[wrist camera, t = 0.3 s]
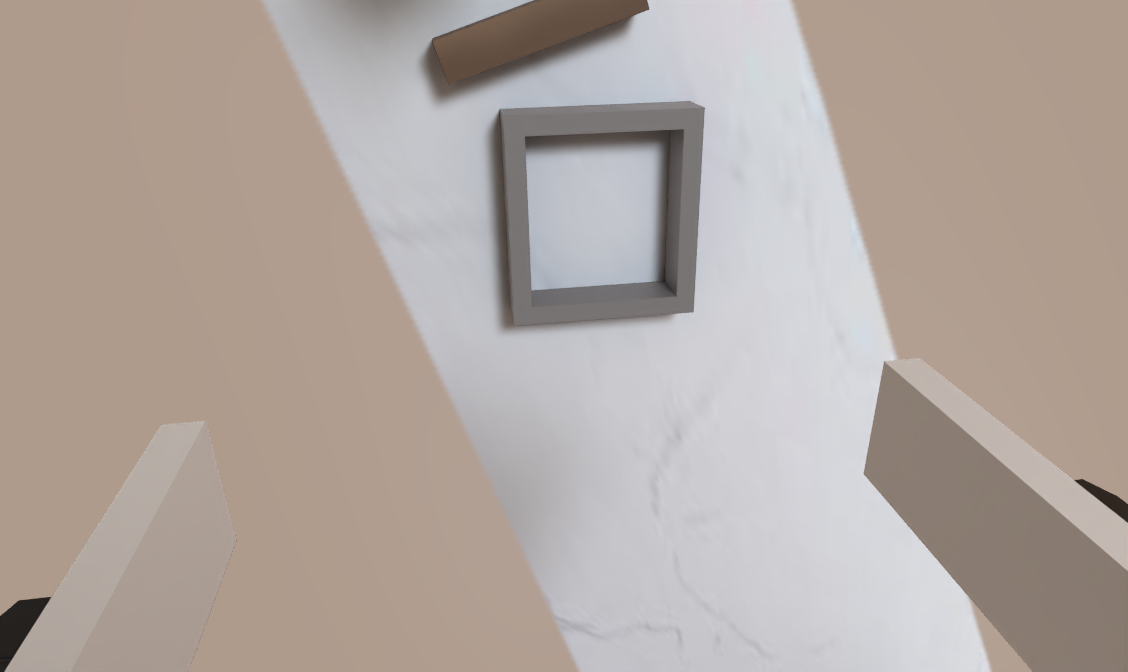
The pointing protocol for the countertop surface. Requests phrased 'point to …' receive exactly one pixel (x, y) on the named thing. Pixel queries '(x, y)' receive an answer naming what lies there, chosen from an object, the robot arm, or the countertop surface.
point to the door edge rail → (525, 32)
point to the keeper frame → (681, 211)
